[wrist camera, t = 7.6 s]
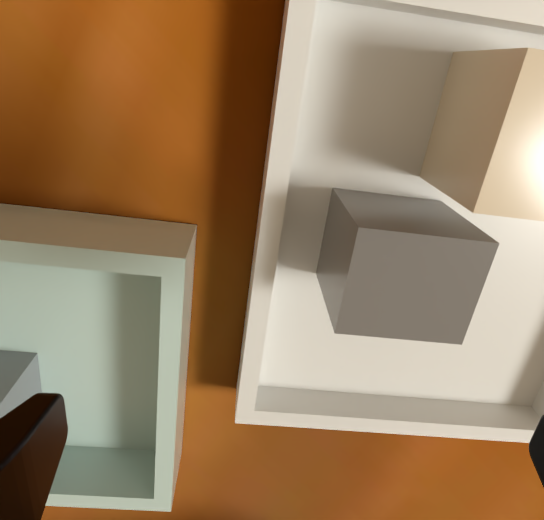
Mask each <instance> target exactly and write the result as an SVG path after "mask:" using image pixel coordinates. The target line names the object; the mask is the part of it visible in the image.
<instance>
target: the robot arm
mask: <svg viewBox="0 0 544 520" xmlns="http://www.w3.org/2000/svg"><path fill="white" fill-rule="evenodd" d="M67 435H68V424H67V417H66V409H65V402H64V398H63V396H62V395H61V394H59V393H37V394H35V395H33V396H31V397H30V398H29V399H27V400H26V401H24V402H23V403H21V404H20V405H18V406H17V407H16V408H14V409H13V410H11V411H10V412H8V413H7V414H6V415H4V416H3V417H1V418H0V520H41V517H42V514H43V511H44V508H45V505H46V502H47V499H48V496H49V493H50V490H51V487H52V484H53V481H54V478H55V474H56V471H57V468H58V465H59V462H60V459H61V456H62V453H63V450H64V447H65V444H66V440H67ZM529 452H530V456H531V459H532V461H533V463H534V466H535V468H536V471H537V473H538V475H539V478H540V480H541V482H542V485H543V487H544V415H542V417H541V418H540V420H539V423H538V425H537V427H536V429H535V431H534V433H533V436H532V438H531V440H530V443H529Z"/></svg>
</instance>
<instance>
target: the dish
mask: <svg viewBox="0 0 544 520" xmlns="http://www.w3.org/2000/svg"><path fill="white" fill-rule="evenodd" d="M196 232H197V225H194V224H185V223H176V222H167V221H158V220H149V219H140V218H130V217H121V216H112V215H103V214H94V213H85V212H76V211H66V210H57V209H48V208H39V207H30V206H21V205H12V204H2V203H0V350H6V351H19V352H32V353H38V361H39V370H40V379H41V388H42V393H59V394H61V395H62V396H63V398H64V402H65V409H66V417H67V424H68V435H67V440H66V444H65V447H64V450H63V453H62V456H61V459H60V462H59V465H58V468H57V471H56V474H55V478H54V481H53V484H52V487H51V490H50V493H49V496H48V499H47V502H46V505H45V506H61V507H82V508H103V509H124V510H145V511H166V512H171V509H172V503H173V498H174V492H175V486H176V481H177V475H178V470H179V464H180V458H181V453H182V441H183V426H184V411H185V396H186V381H187V366H188V351H189V336H190V321H191V306H192V291H193V276H194V262H195V247H196Z"/></svg>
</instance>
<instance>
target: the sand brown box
mask: <svg viewBox="0 0 544 520" xmlns="http://www.w3.org/2000/svg"><path fill="white" fill-rule="evenodd" d="M419 177H420V178H422V179H423V180H425V181H426V182H428V183H429V184H431V185H432V186H434V187H435V188H437V189H438V190H440V191H441V192H443V193H444V194H446V195H447V196H449V197H450V198H452V199H453V200H455V201H456V202H457V203H459V204H460V205H462V206H463V207H465V208H466V209H468V210H469V211H471V212H472V213H477V214H486V215H494V216H502V217H511V218H519V219H528V220H536V221H544V50H541V49H535V48H512V49H494V50H477V51H460V52H453V54H452V58H451V62H450V65H449V69H448V73H447V76H446V80H445V84H444V87H443V91H442V95H441V98H440V102H439V106H438V109H437V113H436V117H435V120H434V124H433V128H432V131H431V135H430V139H429V142H428V146H427V150H426V153H425V157H424V161H423V164H422V168H421V172H420V175H419Z"/></svg>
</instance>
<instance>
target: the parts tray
mask: <svg viewBox="0 0 544 520" xmlns="http://www.w3.org/2000/svg"><path fill="white" fill-rule="evenodd" d="M512 48H535V49H541V50H544V0H285V6H284V14H283V22H282V30H281V38H280V46H279V54H278V62H277V70H276V78H275V86H274V94H273V102H272V109H271V117H270V125H269V133H268V141H267V149H266V157H265V165H264V173H263V181H262V189H261V197H260V205H259V213H258V221H257V229H256V237H255V244H254V252H253V260H252V268H251V276H250V284H249V292H248V300H247V308H246V316H245V324H244V332H243V340H242V348H241V356H240V364H239V372H238V379H237V387H236V407H235V423H241V424H256V425H271V426H286V427H301V428H316V429H331V430H345V431H360V432H375V433H390V434H405V435H420V436H435V437H449V438H464V439H479V440H494V441H509V442H524V443H530V440H531V438H532V436H533V433H534V431H535V429H536V427H537V425H538V423H539V420H540V418H541V417H542V415H544V221H536V220H528V219H519V218H511V217H502V216H494V215H486V214H477V213H472V212H471V211H469V210H468V209H466V208H465V207H463V206H462V205H460V204H459V203H457V202H456V201H455V200H453V199H452V198H450V197H449V196H447V195H446V194H444V193H443V192H441V191H440V190H438V189H437V188H435V187H434V186H432V185H431V184H429V183H428V182H426V181H425V180H423V179H422V178H420V177H419V175H420V172H421V168H422V164H423V161H424V157H425V153H426V150H427V146H428V142H429V139H430V135H431V131H432V128H433V124H434V120H435V117H436V113H437V109H438V106H439V102H440V98H441V95H442V91H443V87H444V84H445V80H446V76H447V73H448V69H449V65H450V62H451V58H452V54H453V52H460V51H477V50H494V49H512ZM332 188H340V189H348V190H356V191H365V192H373V193H381V194H389V195H398V196H406V197H414V198H422V199H431V200H439V201H442V202H443V203H445V204H446V205H447V206H449V207H450V208H451V209H453V210H454V211H456V212H457V213H458V214H460V215H461V216H463V217H464V218H465V219H467V220H468V221H469V222H471V223H472V224H474V225H475V226H476V227H478V228H479V229H481V230H482V231H483V232H485V233H486V234H487V235H489V236H490V237H492V238H493V239H494V240H496V241H497V242H499V246H498V249H497V251H496V254H495V257H494V260H493V262H492V265H491V268H490V270H489V273H488V276H487V278H486V281H485V284H484V287H483V289H482V292H481V295H480V297H479V300H478V303H477V305H476V308H475V311H474V313H473V316H472V319H471V322H470V324H469V327H468V330H467V332H466V335H465V338H464V340H463V343H462V345H459V344H448V343H437V342H425V341H414V340H403V339H392V338H380V337H369V336H358V335H346V334H335V333H334V330H333V327H332V324H331V321H330V317H329V314H328V311H327V308H326V304H325V301H324V298H323V295H322V291H321V288H320V285H319V282H318V279H317V275H316V270H317V265H318V260H319V254H320V249H321V244H322V239H323V234H324V229H325V223H326V218H327V213H328V208H329V203H330V197H331V192H332Z"/></svg>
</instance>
